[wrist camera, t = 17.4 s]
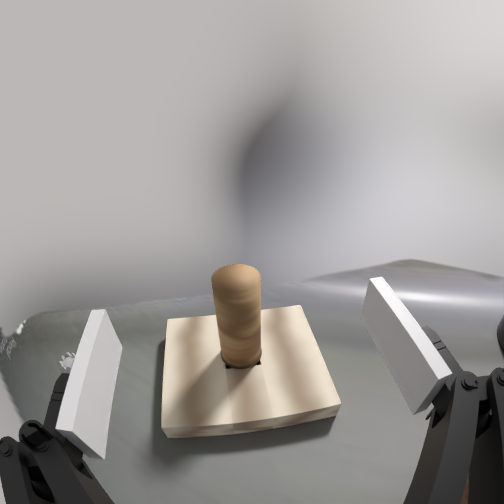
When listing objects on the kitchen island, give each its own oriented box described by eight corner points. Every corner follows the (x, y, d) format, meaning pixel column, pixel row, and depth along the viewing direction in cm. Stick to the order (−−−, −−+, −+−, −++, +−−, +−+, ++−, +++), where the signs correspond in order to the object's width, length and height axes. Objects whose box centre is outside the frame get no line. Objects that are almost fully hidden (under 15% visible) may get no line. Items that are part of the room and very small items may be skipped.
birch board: (298, 319, 46) (300, 304, 44) (336, 415, 31) (341, 403, 29) (171, 333, 44) (167, 319, 42) (167, 438, 28) (161, 427, 27)
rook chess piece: (107, 383, 35) (85, 344, 30) (106, 409, 31) (81, 372, 27) (80, 385, 33) (55, 348, 29) (77, 411, 30) (49, 375, 26)
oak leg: (258, 351, 41) (256, 261, 33) (264, 380, 36) (265, 289, 29) (221, 355, 40) (209, 266, 32) (225, 385, 35) (211, 295, 28)
